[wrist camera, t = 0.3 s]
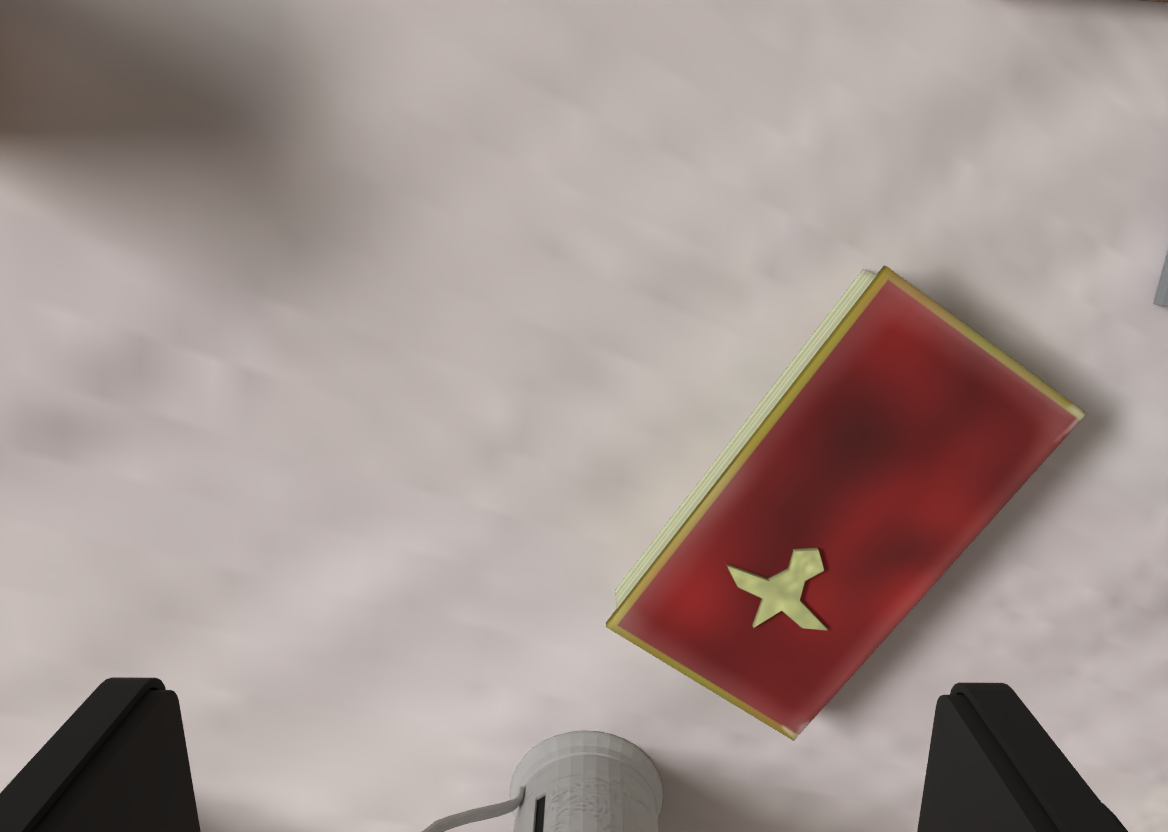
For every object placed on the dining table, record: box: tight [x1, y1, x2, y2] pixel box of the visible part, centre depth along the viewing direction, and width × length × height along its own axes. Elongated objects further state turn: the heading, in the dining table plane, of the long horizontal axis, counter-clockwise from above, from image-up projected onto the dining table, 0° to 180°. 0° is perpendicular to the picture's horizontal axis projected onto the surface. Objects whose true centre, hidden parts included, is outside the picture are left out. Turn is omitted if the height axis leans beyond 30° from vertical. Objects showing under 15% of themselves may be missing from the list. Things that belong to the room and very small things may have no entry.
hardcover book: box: [606, 266, 1086, 741], centre depth 41 cm, size 12×21×4 cm, turn 146°
